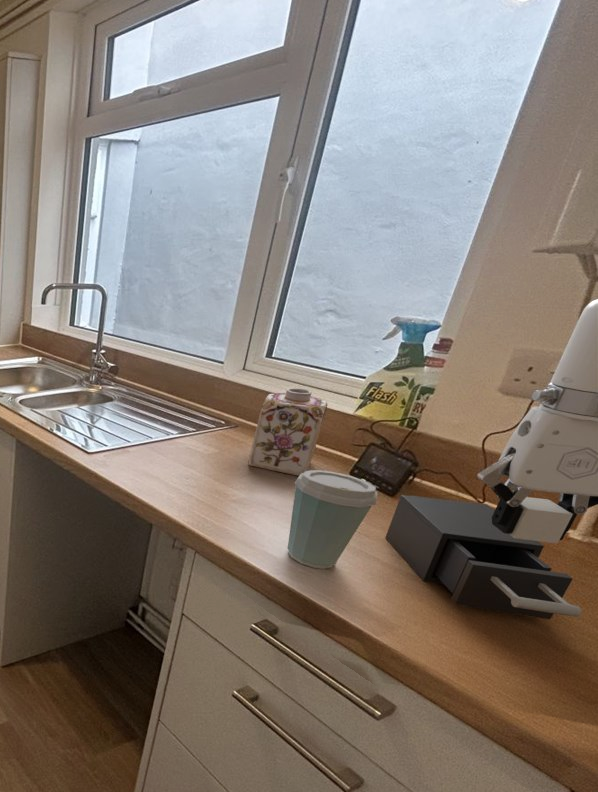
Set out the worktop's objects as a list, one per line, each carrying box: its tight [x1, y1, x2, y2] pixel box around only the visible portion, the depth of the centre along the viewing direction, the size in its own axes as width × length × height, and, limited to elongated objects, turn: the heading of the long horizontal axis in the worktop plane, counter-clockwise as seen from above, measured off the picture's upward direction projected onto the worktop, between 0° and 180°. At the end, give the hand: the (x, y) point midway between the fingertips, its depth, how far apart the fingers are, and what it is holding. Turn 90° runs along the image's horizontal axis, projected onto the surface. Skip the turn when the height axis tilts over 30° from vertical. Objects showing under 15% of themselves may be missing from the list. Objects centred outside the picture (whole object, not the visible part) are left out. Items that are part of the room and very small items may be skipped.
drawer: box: [433, 538, 582, 620], centre depth 75 cm, size 19×10×7 cm, turn 161°
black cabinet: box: [385, 494, 545, 585], centre depth 84 cm, size 14×12×9 cm
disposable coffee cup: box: [287, 469, 379, 570], centre depth 85 cm, size 11×11×15 cm
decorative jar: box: [247, 387, 329, 477], centre depth 121 cm, size 12×12×18 cm
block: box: [510, 496, 573, 544], centre depth 70 cm, size 4×4×4 cm
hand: (525, 530), depth 71 cm, fingers closed on block, 4 cm apart
